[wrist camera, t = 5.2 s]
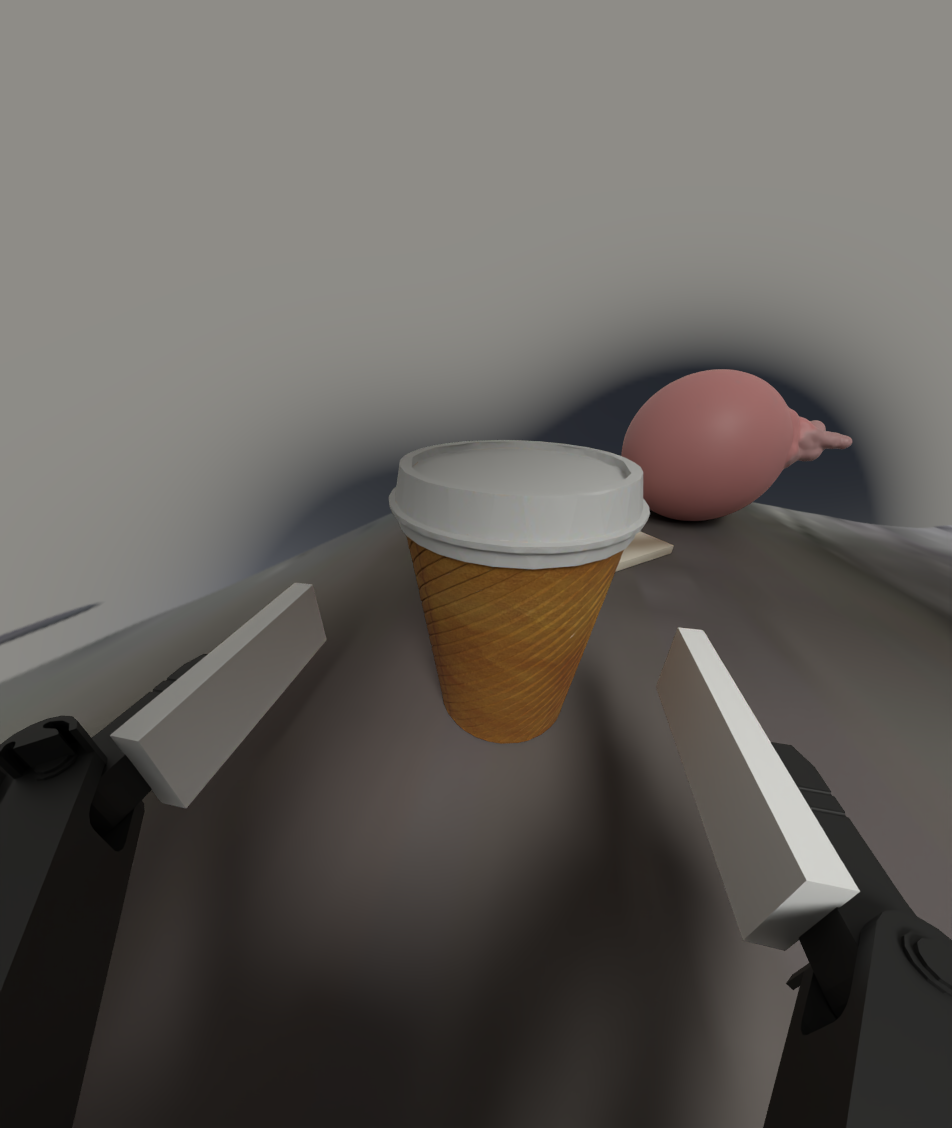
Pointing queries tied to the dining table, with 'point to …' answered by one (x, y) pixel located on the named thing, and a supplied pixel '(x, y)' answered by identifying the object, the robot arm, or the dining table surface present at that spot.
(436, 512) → the disposable coffee cup
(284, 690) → the robot arm
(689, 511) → the balloon
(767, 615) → the dining table surface
